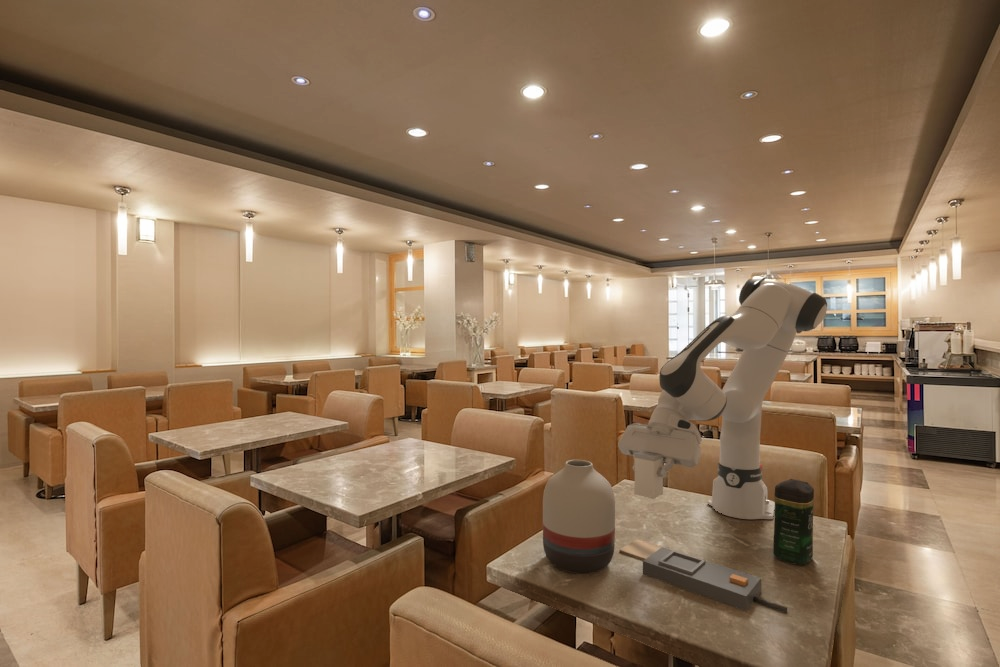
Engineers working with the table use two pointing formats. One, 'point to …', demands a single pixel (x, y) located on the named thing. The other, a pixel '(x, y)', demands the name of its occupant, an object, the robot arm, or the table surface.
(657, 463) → the block
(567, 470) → the vase
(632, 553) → the coaster
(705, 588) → the power strip
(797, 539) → the coffee jar
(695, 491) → the table surface
